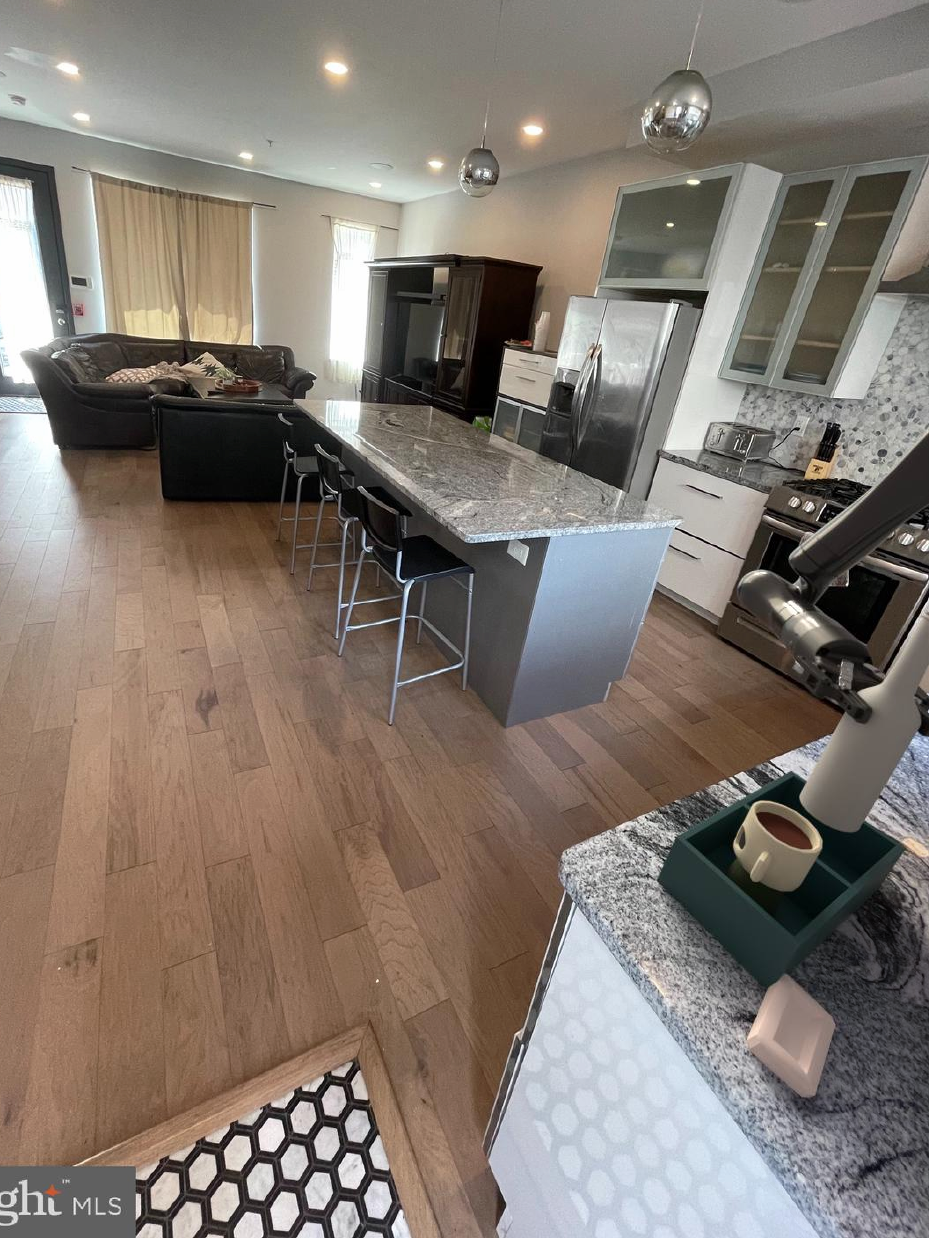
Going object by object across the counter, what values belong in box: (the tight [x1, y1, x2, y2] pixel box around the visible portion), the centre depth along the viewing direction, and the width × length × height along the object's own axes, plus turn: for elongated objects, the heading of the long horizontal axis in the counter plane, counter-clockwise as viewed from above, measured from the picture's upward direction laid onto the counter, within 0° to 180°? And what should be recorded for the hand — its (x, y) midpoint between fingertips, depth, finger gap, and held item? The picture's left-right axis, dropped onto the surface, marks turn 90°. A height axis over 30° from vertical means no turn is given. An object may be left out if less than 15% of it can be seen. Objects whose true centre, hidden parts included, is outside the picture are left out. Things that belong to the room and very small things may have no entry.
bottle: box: [800, 611, 929, 832], centre depth 64 cm, size 7×7×28 cm
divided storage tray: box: [656, 770, 907, 991], centre depth 69 cm, size 27×14×7 cm, turn 121°
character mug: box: [724, 801, 822, 919], centre depth 64 cm, size 11×7×13 cm, turn 131°
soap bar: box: [746, 974, 836, 1099], centre depth 54 cm, size 5×9×2 cm, turn 134°
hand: (898, 723), depth 62 cm, fingers closed on bottle, 6 cm apart
